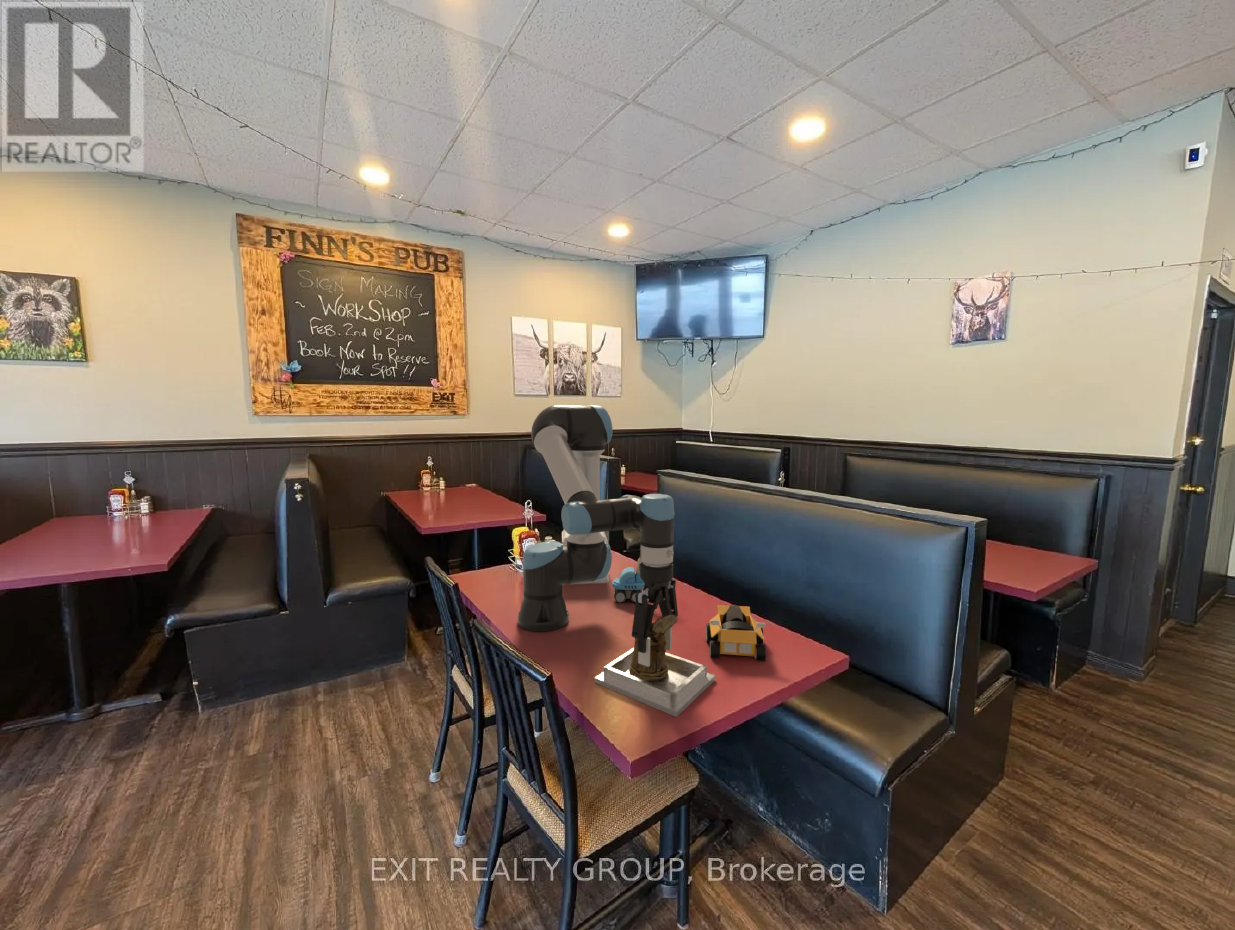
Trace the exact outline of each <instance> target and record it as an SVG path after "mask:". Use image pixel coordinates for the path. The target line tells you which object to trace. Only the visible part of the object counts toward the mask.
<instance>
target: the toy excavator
mask: <svg viewBox="0 0 1235 930" xmlns="http://www.w3.org/2000/svg"><path fill="white" fill-rule="evenodd" d="M641 562H642V561H641V560H640V557H639V558H638V559H637V564H636V570H635V568H634V567H633V566H629V567H628V566H627V567H625V568H624V569H623V570H622V571H621V572H620V574H619V577H617V578H614V580H613V581H612V583H611V586H612V588H613V589H614V593H613V596H614V597H613V598H614V601H616V602H617V603H623V602H625V601H626V600H627V599H629V600H630V601H631V602H632V603H636V600H635V594H636V593H642V592H643V589H644V584H645V583H644V581H643V580H642V579H641V578H640V564H641Z"/></svg>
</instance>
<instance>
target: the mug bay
mask: <svg viewBox="0 0 1235 930" xmlns="http://www.w3.org/2000/svg"><path fill="white" fill-rule="evenodd" d="M633 651H634V647H632V648H630V649H629V650H628V651H626V652H625V653H623V654H622V655H620V656H619V657H617V658H616V659H614V660H613V661H611V662H609V663H608V664H606V665H605V666H603V671H602V672H601V673H599V674H598V675H596V676H595V677H594V683H595V684H598V685H599V686H602V687H604V688H607V689H609V690H612V691H613V692H616V693H618V694H621V695H623V696H625V697H628V698H630V699H632V700H635V701H638V702H639V703H641V704H645V705H647V706H649V707H651V708H653V709H656V710H658V711H662V712H663V713H666V714H668V715H670V716H673V717H675V718H677V717H679V715H681V713H682V712H684V711H685V710H686V709H687V708H688V707H689V706H690V705H692V703H693V702H694V701H696V699H697V698H698V697H699V696H701V695H702V693H704V691H706V689H708V688H709V687H710V686H711V684H713V683H714V682H715V681H716V674H712V673H709V672H708V666H707V665H704V664H701V663H698V662H695V661H692V660H690V659H687V658H683V657H681V656H678V655H675V654H672V653H669V652H666V653H665V657H666V663H667V665H668V674H667V676H666V677H664V678H663V679H661V680H657V681H652V682H650V681H645V680H642V679H640V678H637V677H634V676H632V675H631V674H630V672H629V670H630V665H631V663H632V657H633Z"/></svg>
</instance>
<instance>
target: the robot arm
mask: <svg viewBox="0 0 1235 930" xmlns="http://www.w3.org/2000/svg"><path fill="white" fill-rule="evenodd" d="M530 434H531V441H532V443H533V446H534V448H535V449H536V451H537V452H539V453H540V454H541V455H542V457H543V459H544V461H545V463H546V465H547V468H548V470H549V472H550V473H551V476H552V479H553V481H554V483H555V485H556V487H557V490H558V491H559V494H560V496H561V499H562V501H563V502H564V505H562V508H561V512H560V513H561V522H562V528H563V530H565V531H566V532H567V533H568V534H570V535H569V536H568V537H567V545H566V546H562V542H559V541H557V540H556V541H555V540H552V541H549V540H547V541H541V542H538V543H535V544H531V545H530V546H529V547H527V548H526V549H525V550H524V551H523V554H522V564H521V566H522V580H523V581H522V583H523V584H522V587H523V597H522V602H521V604H520V610H519V611H518V613H517V614H518V615H517V624H518V626H519V627H520V628H522V629H524V630H526V631H531V632H550V631H551V632H552V631H555V630H558V629H560V628H564V627H565V626H566V625H567V624H568V623H569V621H570V617H569V615H570V612H569V609H568V608H567V605H566V601H565V597H564V595H563V593H564V592H563V591H564V589H563V587H564V586H567V585H575V584H574V583H580V582H587V581H595V580H598V579H602V578H604V577H605V576H606V575H607V574H608V575H609V572H610V570H611V567H612V563H613V562H612V559H613V556H612V555H613V553H612V551H611V550H612V549H611V546H610V543H609V544H608V543H607V542H606V541H604V537H603V536H602V535H601V534H600V532H605V531H609V532H613V531H622V530H624V531H625V530H632V529H634V530H637V531H639V532H640V543H639V544H640V545H639V547H640V548H639V551H640V552H639V558H640V560H641V561H642V562H641V564H640V578H641V579H642V580H643V581H644V583H645V584H644V589H643V590H642V593H636V594H635V600H636V602H635V604H634V605H635V606H634V613H633V621H632V627H631V628H632V629H631V637H632V638H634V639H635V638H637V639H638V663H639V664H642V665H644V666H647V667H649V666H650V638H649V637H648V635H649V631H650V627H651V623H652V622H653V619H654V614H655V610H657V609H658V607H659V610H660V614H661V617H663V616H665V615H667V614H669V613H673V614H675V615H677V617H678V616H679V612H678V602H677V601H678V600H677V592H676V584H677V580H676V579H674V564H673V562H674V553H675V552H674V538H675V537H674V535H675V534H674V533H675V532H674V531H675V528H674V527H675V503H674V502H675V501H674V498H673V497H672V496H671V495H669V494H662V493H649V494H645V495H642V496H641V497H640V496H637V495H634V494H633V495H631V494H625V495H622V496H620V497H619V498H611V499H601V498H600V497H601V495H600V494H601V492H600V491H601V488H600V487H601V486H600V484H601V479H600V478H601V464H600V463H601V458H600V457H601V455H602V454H603V453H604V452H605V451H606V450H605V449H606V447H605V446H606V445H608V444H609V443H610V442H611V441H612V437H613V423H612V419H611V416H610V414H609V413H608V410H606V408H605V407H603V406H601V405H593V404H581V405H580V404H575V405H574V404H556V405H555V404H554V405H551V406H548V407H547V408H545V409H542V411H540V412H539V413H538V414H537V416H536V418H535V419H534V421H533V423H532V426H531V431H530ZM677 622H678V619H677V620H676V622H675V624H676V623H677ZM665 638H666V650H667V651H672V650H673V626H672V627H671V628H670V629H669V630H667V631H666V633H665Z"/></svg>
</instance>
